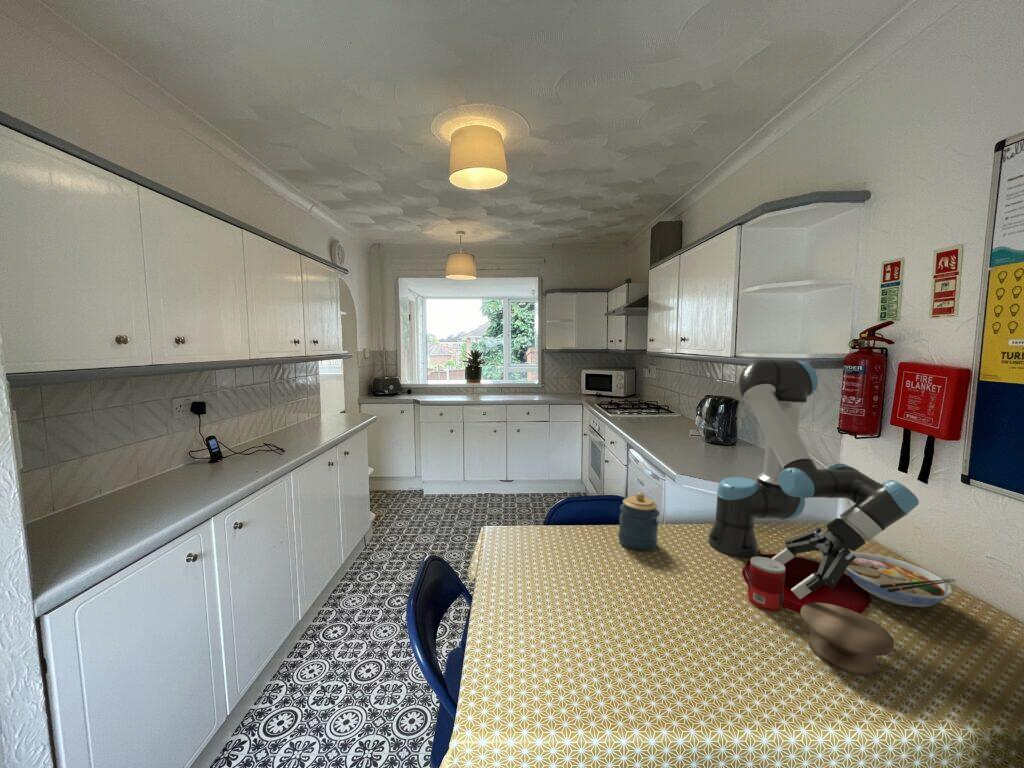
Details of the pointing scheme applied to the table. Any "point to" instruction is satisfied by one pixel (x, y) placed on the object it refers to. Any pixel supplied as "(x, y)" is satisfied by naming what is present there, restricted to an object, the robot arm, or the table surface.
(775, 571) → the canned food
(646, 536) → the canister
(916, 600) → the ramen bowl
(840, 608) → the cake stand
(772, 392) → the robot arm
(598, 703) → the table surface
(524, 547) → the table surface
